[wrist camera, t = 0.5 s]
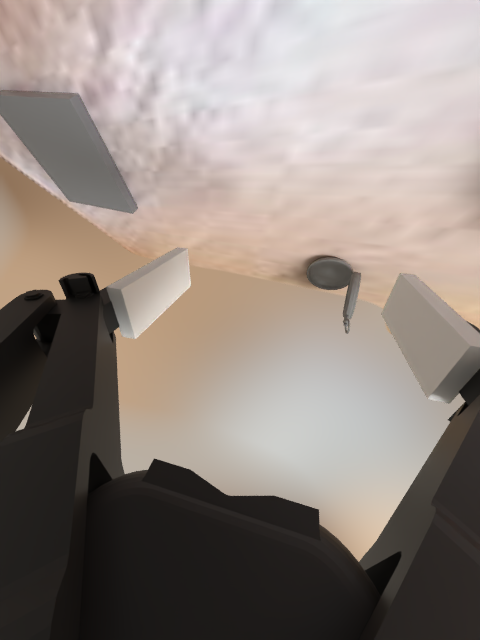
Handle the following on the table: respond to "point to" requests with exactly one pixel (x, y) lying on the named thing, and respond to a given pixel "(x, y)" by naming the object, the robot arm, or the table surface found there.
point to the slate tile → (67, 147)
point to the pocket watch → (336, 281)
